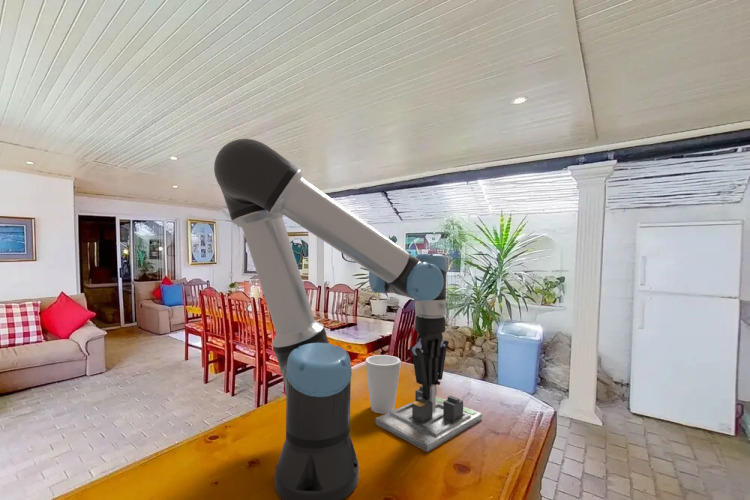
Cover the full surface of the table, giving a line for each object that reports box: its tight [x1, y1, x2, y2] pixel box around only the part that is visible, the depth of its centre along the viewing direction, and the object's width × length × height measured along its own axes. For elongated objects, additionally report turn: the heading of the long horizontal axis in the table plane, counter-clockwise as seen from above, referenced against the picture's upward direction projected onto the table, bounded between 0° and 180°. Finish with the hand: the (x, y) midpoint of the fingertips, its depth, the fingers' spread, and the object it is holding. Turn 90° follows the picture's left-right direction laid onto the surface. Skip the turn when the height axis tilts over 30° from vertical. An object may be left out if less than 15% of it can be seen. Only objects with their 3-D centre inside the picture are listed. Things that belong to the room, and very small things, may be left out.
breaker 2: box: [411, 397, 433, 423], centre depth 83 cm, size 4×3×5 cm
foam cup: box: [365, 354, 402, 415], centre depth 93 cm, size 10×9×13 cm
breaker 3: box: [443, 395, 464, 422], centre depth 85 cm, size 4×3×5 cm
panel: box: [375, 395, 483, 453], centre depth 85 cm, size 22×16×2 cm
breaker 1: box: [414, 385, 423, 401], centre depth 91 cm, size 4×3×5 cm
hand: (429, 410), depth 85 cm, fingers closed
